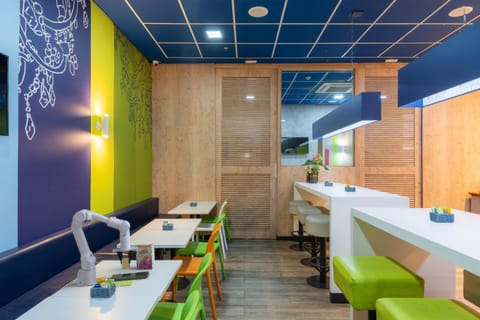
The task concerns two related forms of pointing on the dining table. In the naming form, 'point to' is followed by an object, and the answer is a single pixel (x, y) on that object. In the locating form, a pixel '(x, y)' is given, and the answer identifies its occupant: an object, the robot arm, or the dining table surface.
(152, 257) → the candy bar box
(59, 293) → the dining table surface
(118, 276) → the graphite rail
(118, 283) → the green rubber pad
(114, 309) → the dining table surface
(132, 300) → the dining table surface
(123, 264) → the brass nut block
